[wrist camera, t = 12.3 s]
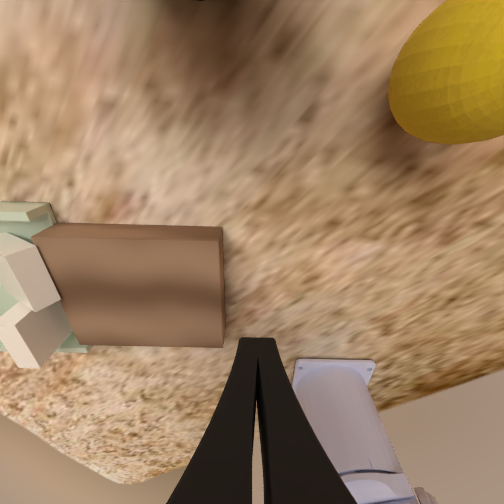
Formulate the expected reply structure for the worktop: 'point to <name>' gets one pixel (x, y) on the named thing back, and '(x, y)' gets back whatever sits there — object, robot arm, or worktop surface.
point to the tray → (24, 226)
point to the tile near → (25, 273)
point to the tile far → (33, 333)
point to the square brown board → (138, 282)
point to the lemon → (452, 75)
